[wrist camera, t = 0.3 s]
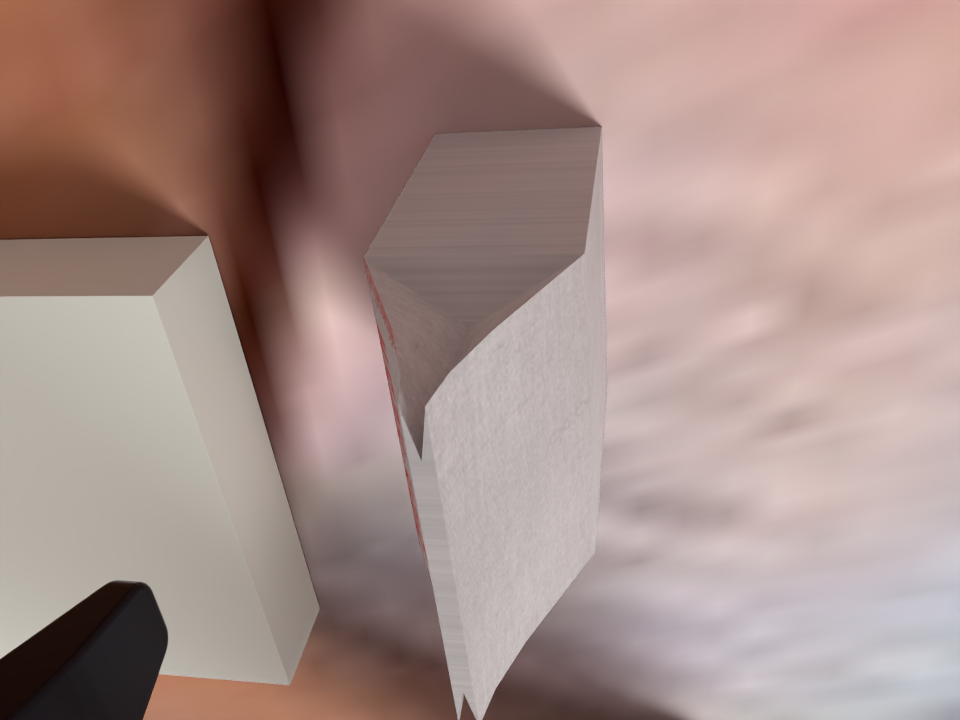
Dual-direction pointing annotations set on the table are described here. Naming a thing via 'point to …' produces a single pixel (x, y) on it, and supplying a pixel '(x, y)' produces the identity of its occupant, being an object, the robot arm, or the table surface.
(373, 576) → the table surface
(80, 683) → the robot arm
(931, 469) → the table surface
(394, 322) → the white paper carton
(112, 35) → the table surface
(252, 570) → the plinth
